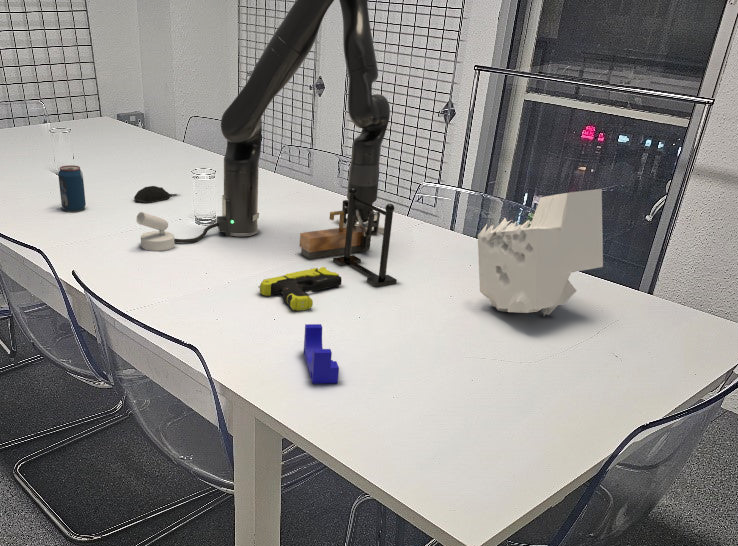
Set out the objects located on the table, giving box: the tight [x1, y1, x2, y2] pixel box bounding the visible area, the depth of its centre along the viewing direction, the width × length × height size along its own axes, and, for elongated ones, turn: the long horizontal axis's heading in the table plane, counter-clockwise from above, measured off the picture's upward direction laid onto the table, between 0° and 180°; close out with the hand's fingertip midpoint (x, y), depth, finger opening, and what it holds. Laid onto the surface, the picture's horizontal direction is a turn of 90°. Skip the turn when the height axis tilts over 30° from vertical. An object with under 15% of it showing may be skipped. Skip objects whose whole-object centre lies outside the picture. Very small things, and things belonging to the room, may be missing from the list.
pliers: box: [336, 219, 384, 236], centre depth 212 cm, size 10×2×15 cm
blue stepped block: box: [303, 323, 340, 385], centre depth 135 cm, size 12×4×6 cm, turn 5°
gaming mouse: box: [133, 185, 177, 203], centre depth 232 cm, size 6×15×4 cm, turn 129°
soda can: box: [57, 164, 87, 213], centre depth 217 cm, size 7×7×12 cm
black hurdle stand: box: [332, 188, 398, 288], centre depth 176 cm, size 6×19×18 cm, turn 27°
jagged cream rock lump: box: [477, 188, 604, 317], centre depth 157 cm, size 20×16×25 cm
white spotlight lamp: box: [135, 211, 175, 252], centre depth 191 cm, size 9×10×10 cm
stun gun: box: [257, 266, 343, 312], centre depth 167 cm, size 3×19×15 cm
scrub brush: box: [299, 210, 368, 260], centre depth 190 cm, size 18×5×11 cm, turn 117°
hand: (357, 245), depth 195 cm, fingers open, 6 cm apart
